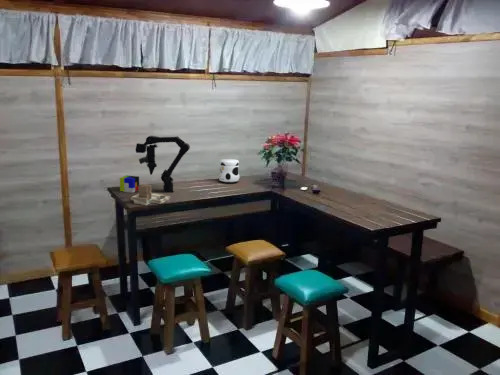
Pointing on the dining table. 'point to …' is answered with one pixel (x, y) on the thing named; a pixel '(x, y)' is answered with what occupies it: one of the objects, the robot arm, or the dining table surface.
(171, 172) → the robot arm
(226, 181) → the milk container
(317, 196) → the dining table surface
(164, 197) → the board
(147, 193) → the walnut block
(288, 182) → the dining table surface
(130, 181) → the puzzle toy
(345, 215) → the dining table surface
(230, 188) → the dining table surface
